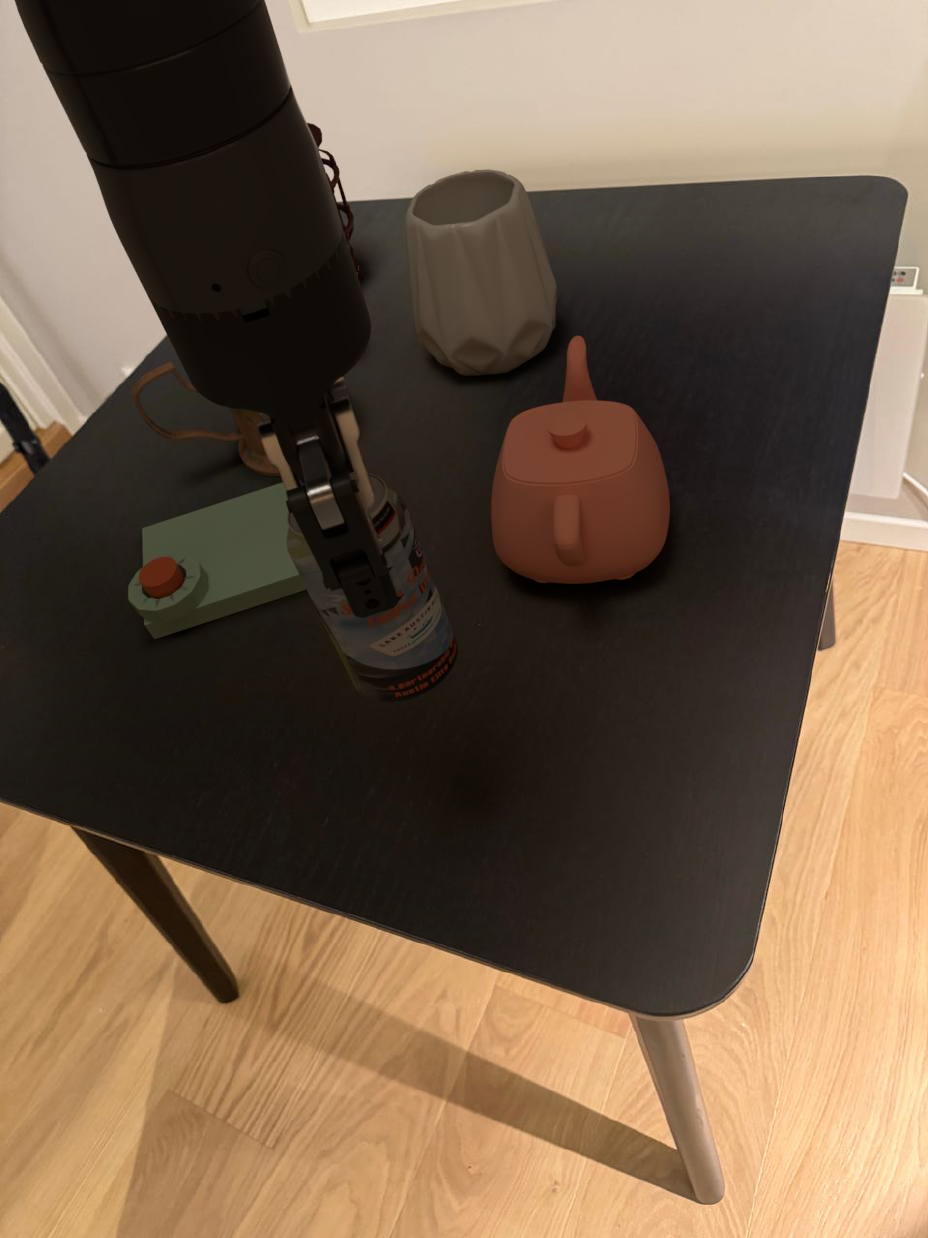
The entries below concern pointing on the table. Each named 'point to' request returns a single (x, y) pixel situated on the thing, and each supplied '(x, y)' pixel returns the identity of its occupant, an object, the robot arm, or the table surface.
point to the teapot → (579, 488)
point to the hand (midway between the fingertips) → (365, 560)
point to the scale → (219, 561)
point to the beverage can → (393, 639)
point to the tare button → (161, 577)
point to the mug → (244, 419)
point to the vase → (479, 273)
